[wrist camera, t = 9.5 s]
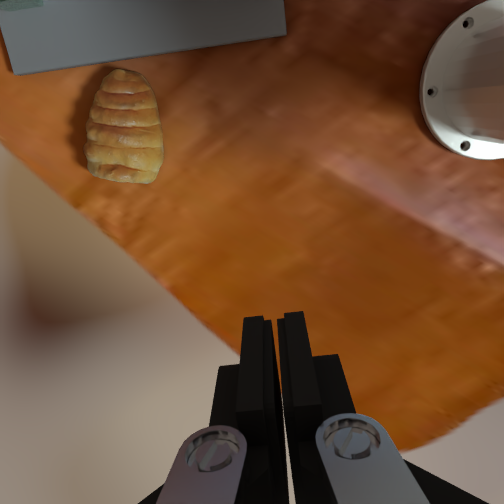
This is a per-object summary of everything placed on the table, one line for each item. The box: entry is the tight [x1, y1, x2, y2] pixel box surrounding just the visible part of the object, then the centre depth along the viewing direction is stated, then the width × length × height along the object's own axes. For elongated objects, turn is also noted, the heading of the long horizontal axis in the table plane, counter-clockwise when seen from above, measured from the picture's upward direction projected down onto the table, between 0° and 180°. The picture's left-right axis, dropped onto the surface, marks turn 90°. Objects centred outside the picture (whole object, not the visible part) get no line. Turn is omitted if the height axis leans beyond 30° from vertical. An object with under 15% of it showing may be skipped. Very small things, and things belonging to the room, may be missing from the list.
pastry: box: [83, 69, 164, 184], centre depth 37 cm, size 9×7×4 cm
